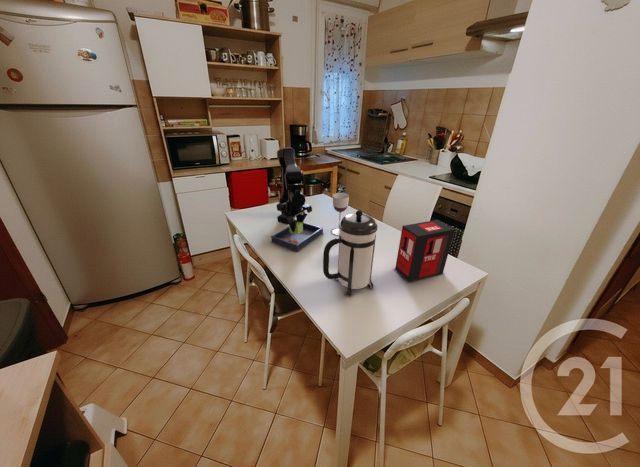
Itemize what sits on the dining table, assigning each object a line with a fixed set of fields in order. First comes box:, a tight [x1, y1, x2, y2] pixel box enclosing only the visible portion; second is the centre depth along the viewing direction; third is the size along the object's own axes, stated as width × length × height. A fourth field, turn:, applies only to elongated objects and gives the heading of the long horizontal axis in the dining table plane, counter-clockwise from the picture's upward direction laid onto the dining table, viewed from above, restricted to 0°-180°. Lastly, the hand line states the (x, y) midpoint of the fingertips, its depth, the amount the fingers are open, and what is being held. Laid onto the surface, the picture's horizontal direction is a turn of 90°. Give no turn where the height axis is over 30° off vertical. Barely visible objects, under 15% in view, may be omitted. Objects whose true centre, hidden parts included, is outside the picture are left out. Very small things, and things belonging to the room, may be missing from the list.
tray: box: [271, 221, 324, 253], centre depth 130 cm, size 22×16×3 cm
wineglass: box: [331, 192, 350, 236], centre depth 132 cm, size 8×9×20 cm
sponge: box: [288, 221, 303, 235], centre depth 123 cm, size 4×5×4 cm
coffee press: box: [322, 209, 379, 296], centre depth 92 cm, size 17×16×30 cm
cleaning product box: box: [394, 219, 456, 283], centre depth 102 cm, size 16×9×20 cm, turn 110°
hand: (296, 230), depth 123 cm, fingers closed on sponge, 4 cm apart
